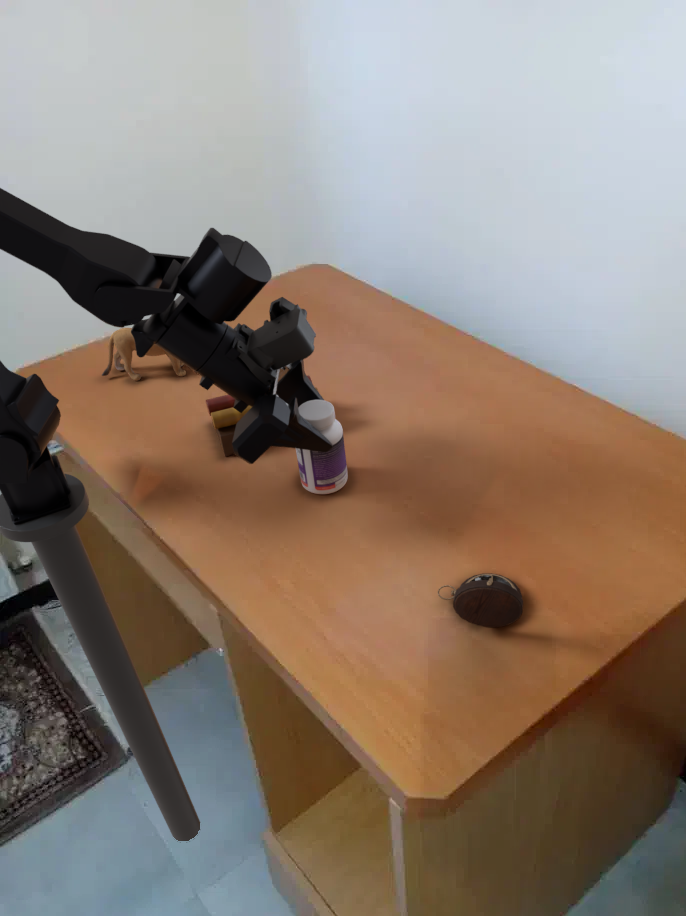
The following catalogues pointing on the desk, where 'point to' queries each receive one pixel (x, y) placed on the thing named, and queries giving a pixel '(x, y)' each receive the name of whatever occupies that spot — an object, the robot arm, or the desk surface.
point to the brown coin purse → (487, 600)
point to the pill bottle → (323, 467)
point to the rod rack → (226, 419)
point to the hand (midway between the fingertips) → (331, 433)
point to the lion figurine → (124, 351)
